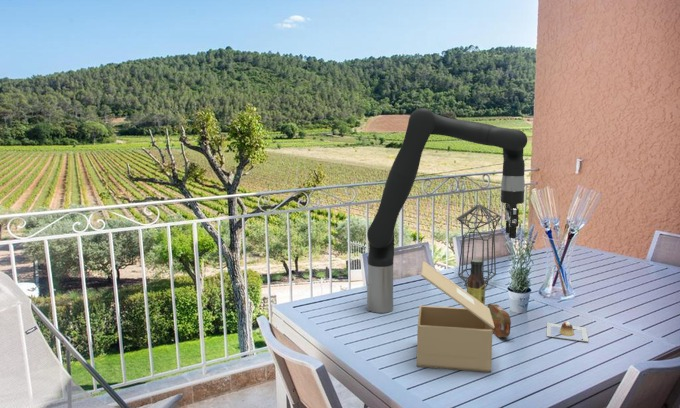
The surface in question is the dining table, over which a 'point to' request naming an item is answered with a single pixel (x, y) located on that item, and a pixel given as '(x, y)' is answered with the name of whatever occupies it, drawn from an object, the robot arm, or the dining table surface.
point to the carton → (453, 339)
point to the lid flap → (457, 293)
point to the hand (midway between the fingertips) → (510, 235)
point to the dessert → (567, 331)
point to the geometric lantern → (478, 239)
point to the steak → (500, 320)
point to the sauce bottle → (476, 281)
